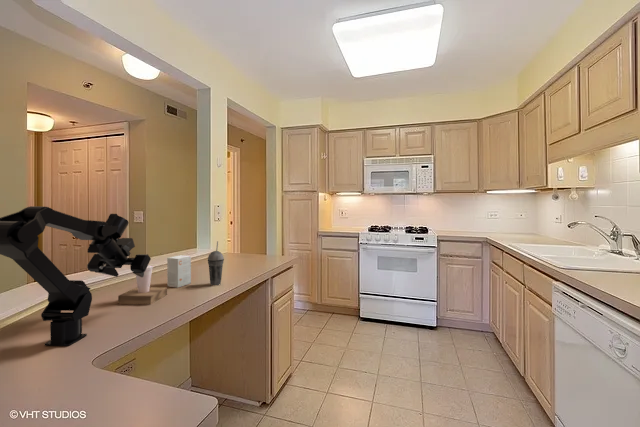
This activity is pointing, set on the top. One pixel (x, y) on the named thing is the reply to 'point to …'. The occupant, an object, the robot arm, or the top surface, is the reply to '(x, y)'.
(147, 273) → the smoothie
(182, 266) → the small box
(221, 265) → the beverage cup
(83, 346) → the top surface
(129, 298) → the walnut plinth
